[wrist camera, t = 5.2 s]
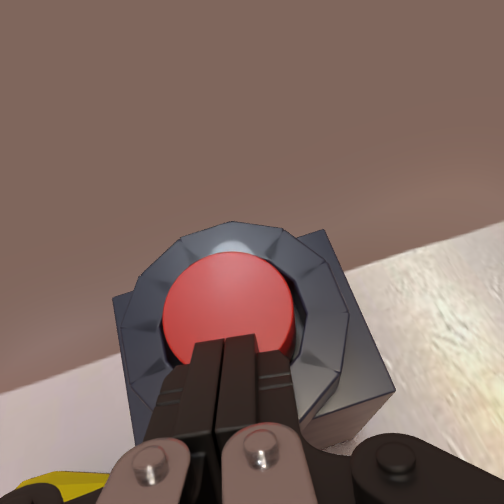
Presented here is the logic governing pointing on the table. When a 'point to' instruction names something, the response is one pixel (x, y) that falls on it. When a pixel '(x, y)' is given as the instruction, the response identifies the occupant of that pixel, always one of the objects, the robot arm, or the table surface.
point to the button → (229, 305)
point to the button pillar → (306, 319)
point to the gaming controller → (71, 482)
